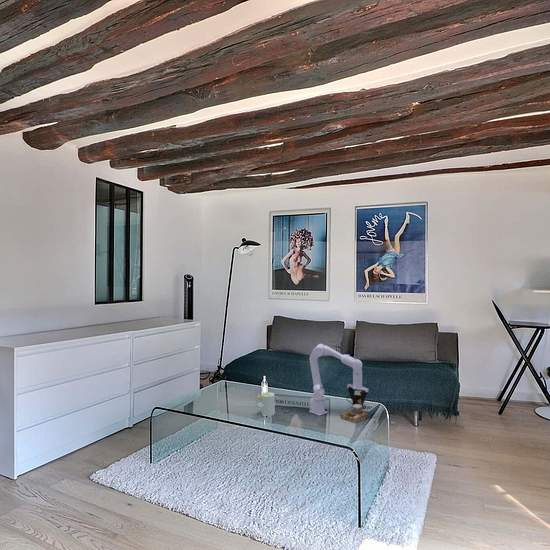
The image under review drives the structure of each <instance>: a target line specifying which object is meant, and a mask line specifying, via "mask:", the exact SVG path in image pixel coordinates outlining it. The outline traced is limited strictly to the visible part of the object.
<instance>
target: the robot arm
mask: <svg viewBox="0 0 550 550" xmlns="http://www.w3.org/2000/svg"><path fill="white" fill-rule="evenodd" d="M323 355H324V356H328V355H329V356H332V357H334V358H336V359H338V360H340V361H341V363H342V364H344V365H346V366H348V367H350V368H352V370H353V371H352V383H348V384H347V385H346V387H347V391H348V393H349V395H350V396H351V397H350V396H349V397H350V400H351V401H352V400H354V393H355V391H362V392H360V394H361V403H365V401H366V397H367V395H368V393H369V388H367V387H365V386H363V369H362V368H363V362H362V361H361V360H360V359H358V358H356V357H353V356H351V355H350V354H342V353H340V352H338V351H336V350H335V349H334V348H331V347H330V346H328V345H325V344H324V343H318V344H317V345H316V346H315V347H314V348H313V349H312V352H311V353H310V355H309V365H310V370H311V376H312V384H313V389H312V390H313V393H312V397H311V399H310V400H309V411H308V412H309V413H311V414H314V415H316V416H322V415H326V414H327V413H328V411H326V408H325V403H326V402H325V400H326V398H325V394H326V392H325V391H326V390H325V388H324V387H323V384H322V381H321V380H322V379H321V373H320V368H319V362H318V359H319V358H320V357H322V356H323Z"/></svg>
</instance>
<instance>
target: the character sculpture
mask: <svg viewBox="0 0 550 550" xmlns="http://www.w3.org/2000/svg"><path fill="white" fill-rule="evenodd" d="M256 399H257V400H260V401H259V402H257V407H258V408H259V409H260V411H261V412H260V413H261V414H263V415H274V414H275V415H276V402H275V401H276V400H277V396H276V394H275V393H274V392H269V391H265V392H262V393H261V394H258V395H257V398H256Z"/></svg>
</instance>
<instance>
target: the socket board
mask: <svg viewBox="0 0 550 550" xmlns="http://www.w3.org/2000/svg"><path fill="white" fill-rule="evenodd" d="M369 414H370V413H369V412H366V411H363V410H362V413H361V414H355V413H353V408H352V409H350V410H348V411H345V412H343V413H340V419H342V420H345V421H348V422H350V423H354V424H355V423H358V422H360V421H363V420H365V419H367V418H369Z"/></svg>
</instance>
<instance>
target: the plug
mask: <svg viewBox="0 0 550 550" xmlns="http://www.w3.org/2000/svg"><path fill="white" fill-rule="evenodd" d="M352 409H353V413H355V414H361V413H362V411H363V409H362V405H359V404H355V405H353V404H352Z"/></svg>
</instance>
